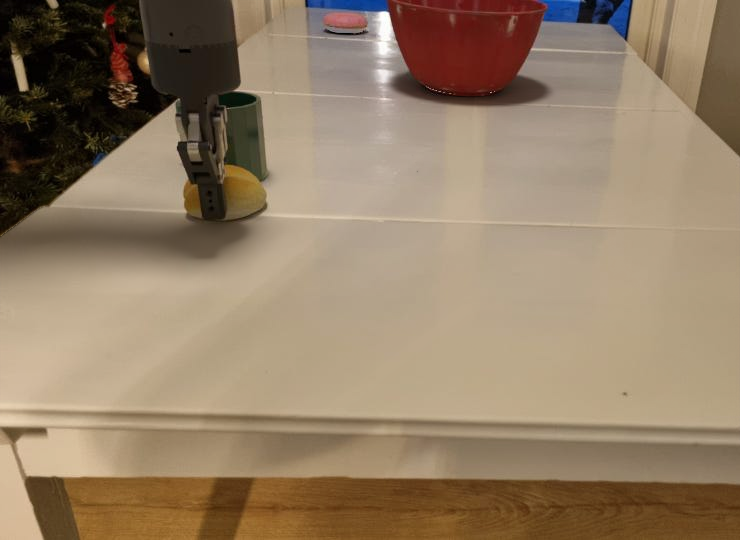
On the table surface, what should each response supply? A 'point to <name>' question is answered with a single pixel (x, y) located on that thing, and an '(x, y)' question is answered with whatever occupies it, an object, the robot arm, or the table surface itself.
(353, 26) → the doughnut
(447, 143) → the table surface
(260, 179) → the mug
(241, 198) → the bread roll
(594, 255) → the table surface
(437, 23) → the mixing bowl
